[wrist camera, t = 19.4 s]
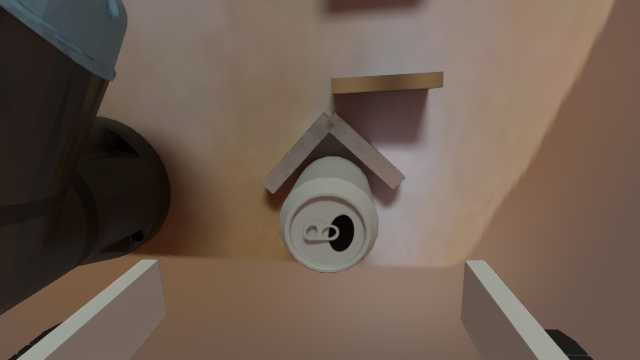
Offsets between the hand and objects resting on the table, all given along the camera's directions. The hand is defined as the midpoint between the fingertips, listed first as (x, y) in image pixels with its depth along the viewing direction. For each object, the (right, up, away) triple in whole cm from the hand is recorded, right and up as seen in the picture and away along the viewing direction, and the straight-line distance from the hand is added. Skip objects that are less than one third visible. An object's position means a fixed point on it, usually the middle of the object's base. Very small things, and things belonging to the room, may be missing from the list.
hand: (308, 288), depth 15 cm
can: (+2, +4, +21) cm, 22 cm away
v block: (+2, +8, +20) cm, 21 cm away
